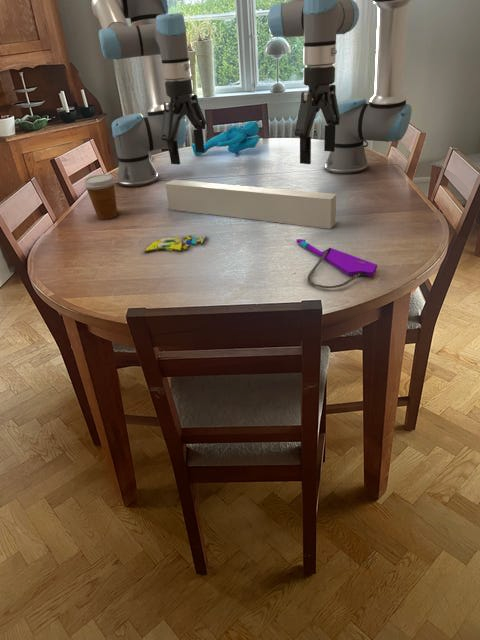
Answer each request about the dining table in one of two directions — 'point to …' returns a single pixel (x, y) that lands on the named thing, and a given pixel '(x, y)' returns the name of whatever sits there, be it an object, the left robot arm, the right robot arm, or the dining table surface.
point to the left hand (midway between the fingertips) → (188, 157)
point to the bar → (253, 203)
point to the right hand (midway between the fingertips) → (317, 157)
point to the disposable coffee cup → (102, 195)
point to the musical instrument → (340, 263)
